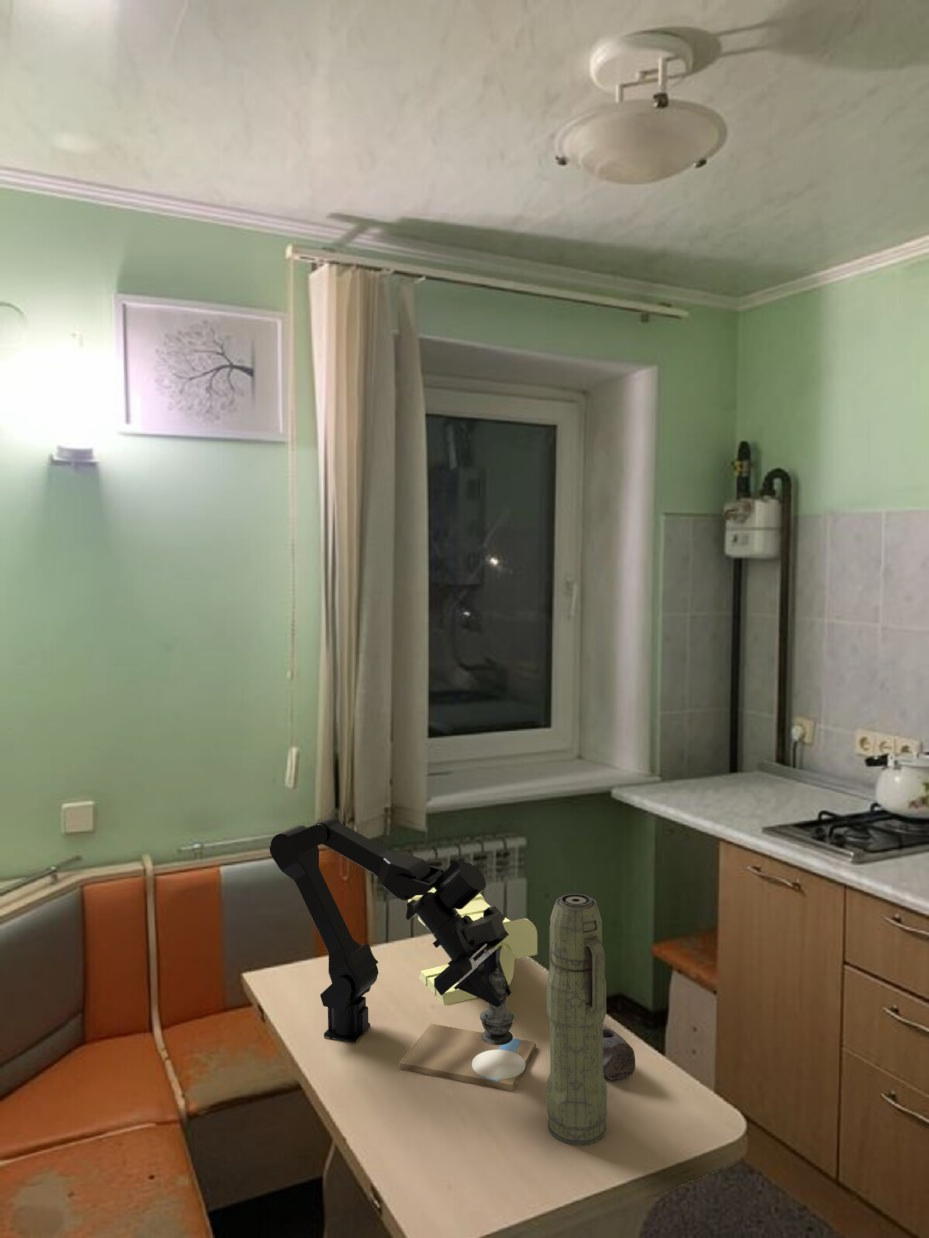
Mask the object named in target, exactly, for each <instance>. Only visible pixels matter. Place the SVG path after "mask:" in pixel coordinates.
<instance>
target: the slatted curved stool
mask: <svg viewBox="0 0 929 1238" xmlns="http://www.w3.org/2000/svg"><path fill="white" fill-rule="evenodd" d="M435 891H436V889H435V888H433V889H431V890H430V891H428V892H433V893H434V892H435ZM422 896H423V895H416V896H415V897H413V898H412V899H409V900H407V903H409V902H410V901H412V900H418V899H419V898H420V897H422ZM491 906H492V905H490V904H488V903H487V901H486V900H485V897H484V896H483V895H482V894H481V892H480V893H479V894H478V895H477V896H476V897H475V898H474V899H473V900H472V901H470V902H469V903H468V904H467V905H466V906H465V907H464V908H463V909H456V910H457V911H458V913H459V914H460V915H461V917H464V916H465V915H467V916H470V918H471V919H472V920H473V921H474V920H477V919H479V918H480V917H483V912H484V910H485V909H487V908H488V907H491ZM417 920H418V921H419V922H420V923H421V924H422V925H423V926H424V927H426V926H425V924H424V923H423V922H422V920H421V919H420V918H419V916H418V915H417ZM503 925H504V928H505V930H506V931H507V933H508V934H509V935H508V936H507V937H506V938H505V939H504V940H503V941H501V942H500V943H499V944H498V945H496V946H495V948H496V949H497V948H498V947H499V946H501V945H502V949H501V951H500V963H501V966H502V969H503V972H504V975H505V977H506V980H507V982H508V985H509V986H510V984H511V982H512V980H513V977H514V972H515V971H514V970H515V961H516V960H515V959H522V958H527V957H532V956H537V955H538V931H537V927H536V925H534V923H533V922H532V921H530V919H528V918H520V919H514V920H511V919H508V918H507V917H505V919H504V921H503ZM426 928H427V927H426ZM427 930H428V928H427ZM448 966H449V964H448V963H446V964H443V965H440V966H436V967H431V968H428V969H423V970H420V974H419V976H418V978H419V980H420V981H421V982H422V983H423V984H424V985H425V986H427V988H428V989H429V990H430V991H431V993H432V994H434V996H436V998H437V999H438V1000H439V1001H440V1002H441V1003H442V1005H443V1006H446V1005H451V1004H455V1003H460V1002H464V1001H468V1000H473V999H477V998H478V997H476V996H474V995H472V994H469V993H467V992H465V991H462V990H460V989H457V990H455V989H454V987H455V986H456V985H457V984H458V982H457V983H456V984H454V985H453V986H452V987H451V988H450V989H449V990H448V991H446V992H445V993H444V994H443V995H442V996H441V995H440V994H439V992H438V991H437V990H436V988H435V987H434V978H436V977H437V976H438V975H439V974H440V973H441V972H442V971H444V970H445V969H446V968H447V967H448ZM478 999H479V998H478Z"/></svg>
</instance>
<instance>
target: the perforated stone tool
mask: <svg viewBox="0 0 929 1238" xmlns="http://www.w3.org/2000/svg"><path fill="white" fill-rule="evenodd" d="M634 1050H635V1049H633V1047H632V1046H631V1045H630V1044H629V1043H628V1041H626V1040H625V1039H624V1038H623V1037H622V1036H621V1035H620V1034H619V1033H618V1032H616V1031H615V1030H613V1029H611V1028H610V1027H608V1026H607V1025H605V1024H603V1075H605V1076H606V1077H607V1078H608V1079H610V1080H614V1081H615V1080H619V1079H628V1078H629V1077H630V1076H632V1075H633V1074H634V1073H635V1070H636V1055H635V1051H634Z"/></svg>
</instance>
